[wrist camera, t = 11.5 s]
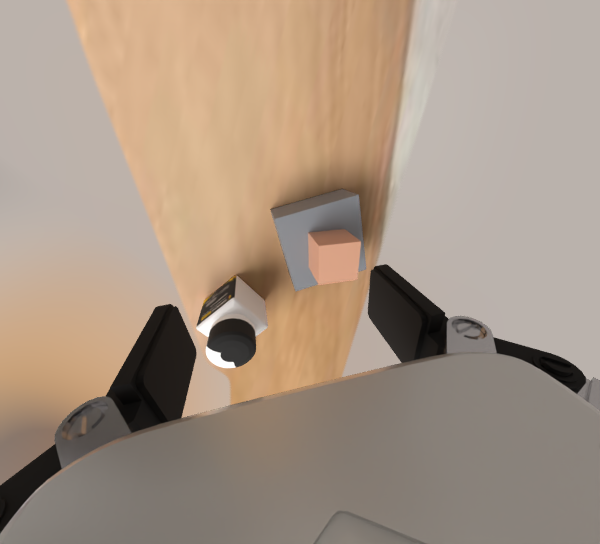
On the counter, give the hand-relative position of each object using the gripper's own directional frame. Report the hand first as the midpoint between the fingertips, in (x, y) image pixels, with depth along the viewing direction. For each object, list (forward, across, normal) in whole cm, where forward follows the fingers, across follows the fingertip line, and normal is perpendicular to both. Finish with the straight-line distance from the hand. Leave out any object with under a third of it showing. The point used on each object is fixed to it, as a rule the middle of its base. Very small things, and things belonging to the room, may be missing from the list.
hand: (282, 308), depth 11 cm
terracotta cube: (+19, -8, +6) cm, 21 cm away
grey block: (+25, -8, +6) cm, 26 cm away
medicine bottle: (+24, +7, +15) cm, 29 cm away
